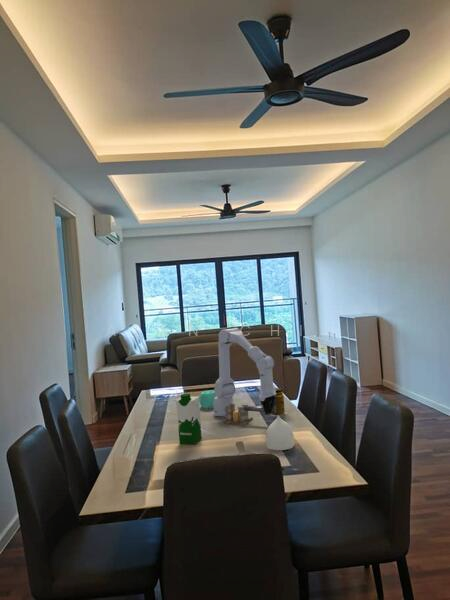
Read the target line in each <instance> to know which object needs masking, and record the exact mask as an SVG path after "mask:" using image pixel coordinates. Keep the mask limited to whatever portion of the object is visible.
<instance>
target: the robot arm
mask: <svg viewBox="0 0 450 600" xmlns="http://www.w3.org/2000/svg"><path fill="white" fill-rule="evenodd" d="M234 343H236V344H238V345H239V346H240V347H242V348H243V349H244V350H245V351H246V352H247V356H248V357H249V358H250V359H251V360H252V361H253V362H254V363H255V364H256V368H257V369H258V374H259V380H260V382H259V383H260V394H259V396H258V402H260V403H261V405H262V407H263V408H264V411H265V412H264V414H265V415H268V414H270V412H271V408H272V406H274V402H275V399H276V396H273V395H276V390H274V389H275V388H274V377H273V376H274V375H273V368H274V367H275V359H274V358H273V357H272V356H271V355H267V354H266V353H264V352H263V351H262V350H261V349H260V347H259V346H256V345H254V346H253V345H252V343H251V342H250V341H249V340H248V339H247V337H245V336H244V334H243V331H242V330H241V329H240V328H238V327H233V328H228V329H227V328H226V329H220V331H219V332H218V344H217V346H218V370H219V371H218V373H219V376H218V379H217V380H216V381H215V384H214V389H213V391H214V393H215V395H216V396H217V397H215V398H214V401H213V406H214V408H213V416H215V417H225V406H229V404H230V403H233V404H234V399H233V397H234V394H235V392H236V386H235V380H234V379H233V378H232V377H231V363H230V362H231V359H230V348H231V346H232V345H233V344H234Z"/></svg>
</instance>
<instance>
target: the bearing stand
mask: <svg viewBox="0 0 450 600" xmlns="http://www.w3.org/2000/svg"><path fill="white" fill-rule="evenodd" d="M245 406H249V405H248V403H247V404H245V403H243V404H241V406H240V405H239V406H237V409H238V416H239V421H233V412H234V411H235V410H236V405H235V403H234V402H233V403H230V404H229V406H225V416H224V417H225V420H223V421H222V422H223V423H222V424H224V425H226V424H227V425H233V426H234V425H237V426H244V425H246V424H248V423H249V422H251V421H253V419H254V418H253V416H249V411H245V410H244V407H245Z"/></svg>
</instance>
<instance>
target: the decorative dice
mask: <svg viewBox="0 0 450 600" xmlns="http://www.w3.org/2000/svg"><path fill="white" fill-rule="evenodd" d="M199 397H200V399H199V406H201V407H202V408H203V409H214V406H213V401H214V398H215V397H217V396H216V395H215V393H214V389H213V390H212V389H211V390H204V391H202V392H201V393H200V395H199Z"/></svg>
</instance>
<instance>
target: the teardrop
mask: <svg viewBox="0 0 450 600" xmlns="http://www.w3.org/2000/svg"><path fill="white" fill-rule="evenodd" d="M265 446H266V448H267V449H269V450H275V451H285V450H286V451H287V450H290V449H292V448H294V447H295V439H294V432H293V430H292V427H291V426H290V425H289V423H288V422H286V421H285V420H283V419H282V418H281V417H280V415H278V416H276V418H275V420H274V421H273V422H271V424H270V425H268V427H267V429H266V432H265Z"/></svg>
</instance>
